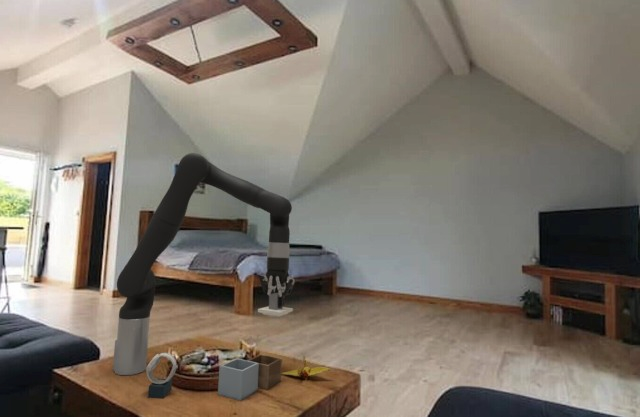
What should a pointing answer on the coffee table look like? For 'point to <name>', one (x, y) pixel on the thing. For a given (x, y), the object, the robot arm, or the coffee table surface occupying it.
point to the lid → (274, 307)
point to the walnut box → (268, 370)
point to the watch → (160, 386)
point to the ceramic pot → (238, 379)
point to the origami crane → (306, 370)
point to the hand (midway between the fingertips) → (275, 306)
